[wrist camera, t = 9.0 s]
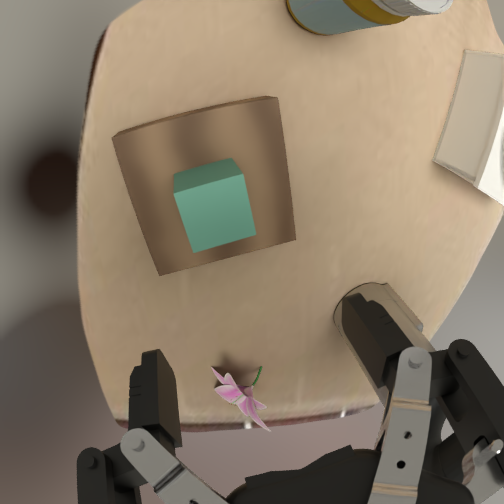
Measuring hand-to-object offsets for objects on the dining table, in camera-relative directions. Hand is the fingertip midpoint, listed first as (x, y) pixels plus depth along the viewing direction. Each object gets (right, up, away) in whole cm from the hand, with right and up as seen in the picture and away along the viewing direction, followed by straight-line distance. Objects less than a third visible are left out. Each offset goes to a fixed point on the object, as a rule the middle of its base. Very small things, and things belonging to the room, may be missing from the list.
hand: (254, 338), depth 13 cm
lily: (-3, -15, +33) cm, 36 cm away
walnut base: (-4, +11, +17) cm, 21 cm away
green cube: (-4, +9, +14) cm, 17 cm away
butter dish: (+34, +22, +21) cm, 45 cm away
